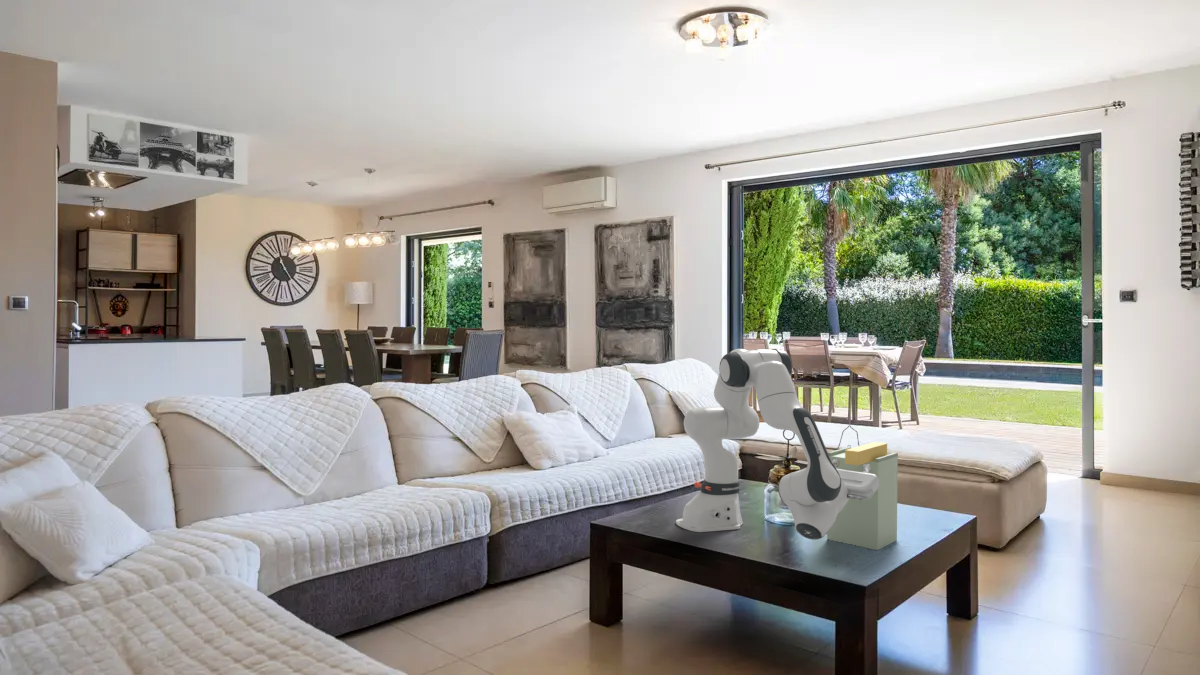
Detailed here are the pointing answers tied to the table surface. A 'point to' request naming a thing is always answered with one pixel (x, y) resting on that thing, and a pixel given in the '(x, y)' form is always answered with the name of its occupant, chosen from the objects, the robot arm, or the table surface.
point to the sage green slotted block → (869, 506)
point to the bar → (865, 453)
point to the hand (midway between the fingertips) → (851, 463)
